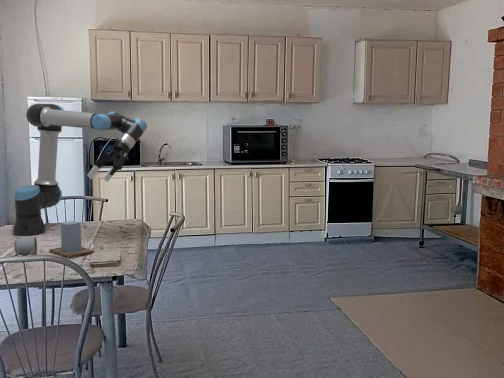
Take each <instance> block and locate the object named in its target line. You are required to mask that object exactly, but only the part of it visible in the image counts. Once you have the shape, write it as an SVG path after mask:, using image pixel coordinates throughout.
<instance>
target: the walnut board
mask: <svg viewBox="0 0 504 378" xmlns="http://www.w3.org/2000/svg"><path fill="white" fill-rule="evenodd" d="M48 252H49V253H50V254H53V255H56V254H57V255H56V256H59V257H62V258H64V257H65V259H67V258H69V259H68V260H71V259H75V257H76V258H79V257H80V258H81V257H85V256H90V255H92V253H94V252H95V250H94V249H90V248H87V247H84V246H82V250H80V251H75V252H69V253H68V252H65V251H63V250H62V246H61V247H57V248H56V247H55V248H51V249H49V251H48ZM84 255H85V256H84Z"/></svg>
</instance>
